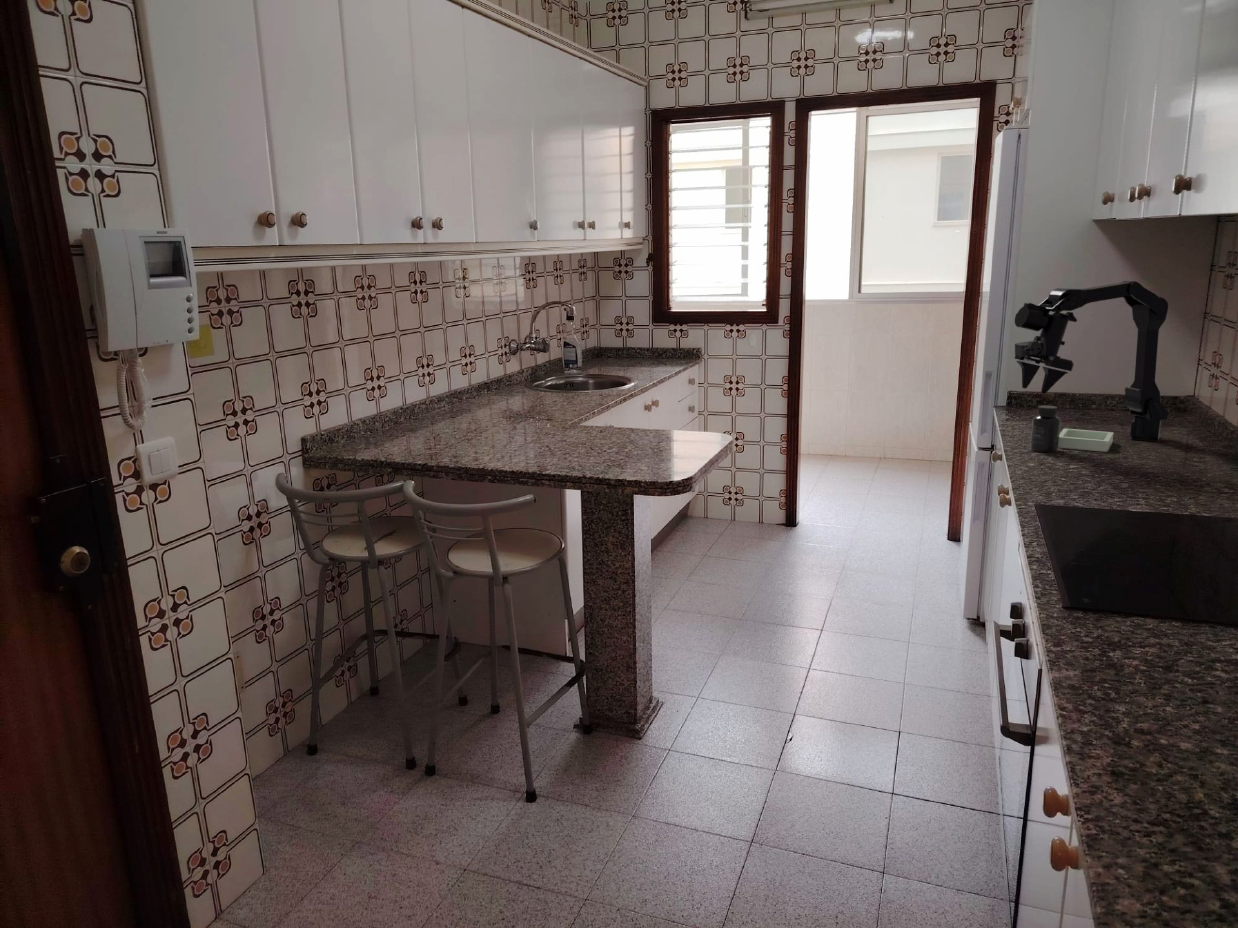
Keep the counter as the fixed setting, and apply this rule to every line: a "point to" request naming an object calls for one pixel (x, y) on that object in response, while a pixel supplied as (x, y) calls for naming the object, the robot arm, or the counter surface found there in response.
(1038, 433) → the supplement bottle
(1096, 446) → the mint green square tray
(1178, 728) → the counter surface
